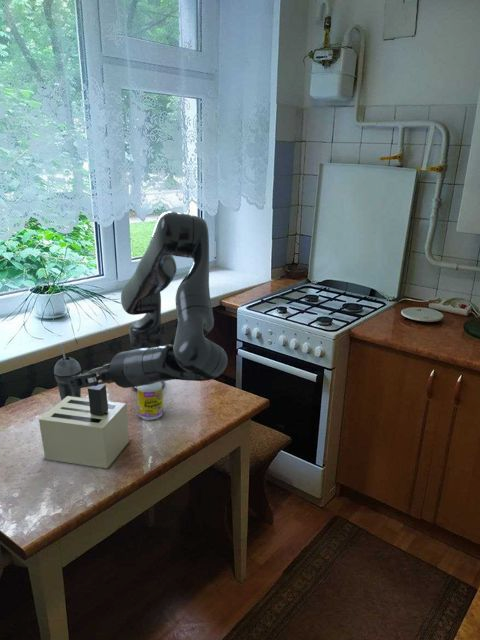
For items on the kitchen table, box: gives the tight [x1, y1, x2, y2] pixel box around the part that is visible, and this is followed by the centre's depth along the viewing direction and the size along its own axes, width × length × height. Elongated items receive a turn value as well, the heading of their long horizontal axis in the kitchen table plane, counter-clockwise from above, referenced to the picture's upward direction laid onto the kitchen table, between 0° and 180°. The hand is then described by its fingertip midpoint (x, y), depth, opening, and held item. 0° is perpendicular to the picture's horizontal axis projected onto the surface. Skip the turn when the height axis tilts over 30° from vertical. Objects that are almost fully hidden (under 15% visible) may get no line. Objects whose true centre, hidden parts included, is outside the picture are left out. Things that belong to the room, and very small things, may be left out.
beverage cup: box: [53, 344, 82, 402], centre depth 137 cm, size 7×7×20 cm
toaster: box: [38, 396, 130, 469], centre depth 120 cm, size 12×16×11 cm
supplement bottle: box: [136, 382, 164, 421], centre depth 137 cm, size 7×7×13 cm
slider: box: [87, 383, 108, 416], centre depth 116 cm, size 3×3×7 cm
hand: (87, 376), depth 109 cm, fingers open, 8 cm apart
